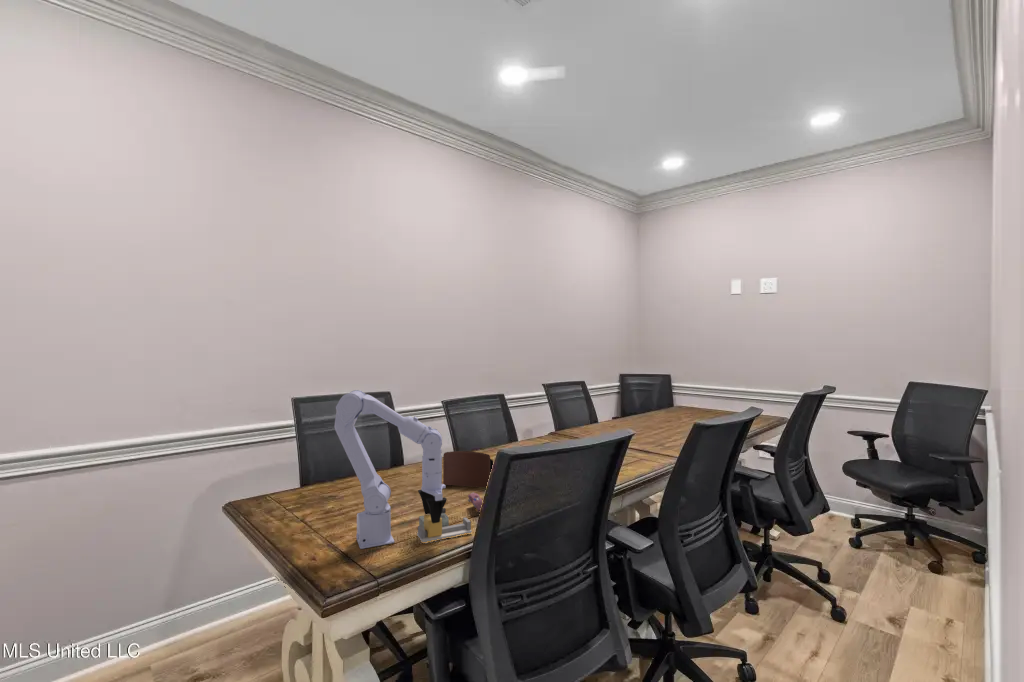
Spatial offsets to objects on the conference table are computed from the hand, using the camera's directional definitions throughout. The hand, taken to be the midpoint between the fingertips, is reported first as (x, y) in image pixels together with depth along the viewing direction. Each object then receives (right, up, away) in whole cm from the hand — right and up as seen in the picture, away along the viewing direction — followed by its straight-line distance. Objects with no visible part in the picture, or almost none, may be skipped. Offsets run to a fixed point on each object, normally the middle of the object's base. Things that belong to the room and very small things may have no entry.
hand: (431, 517), depth 138 cm
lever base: (-1, -6, +8) cm, 10 cm away
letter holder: (+7, -6, +53) cm, 54 cm away
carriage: (0, -5, 0) cm, 5 cm away
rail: (+4, -6, +2) cm, 7 cm away
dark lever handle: (0, -2, +9) cm, 9 cm away
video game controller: (+12, -6, +22) cm, 26 cm away
